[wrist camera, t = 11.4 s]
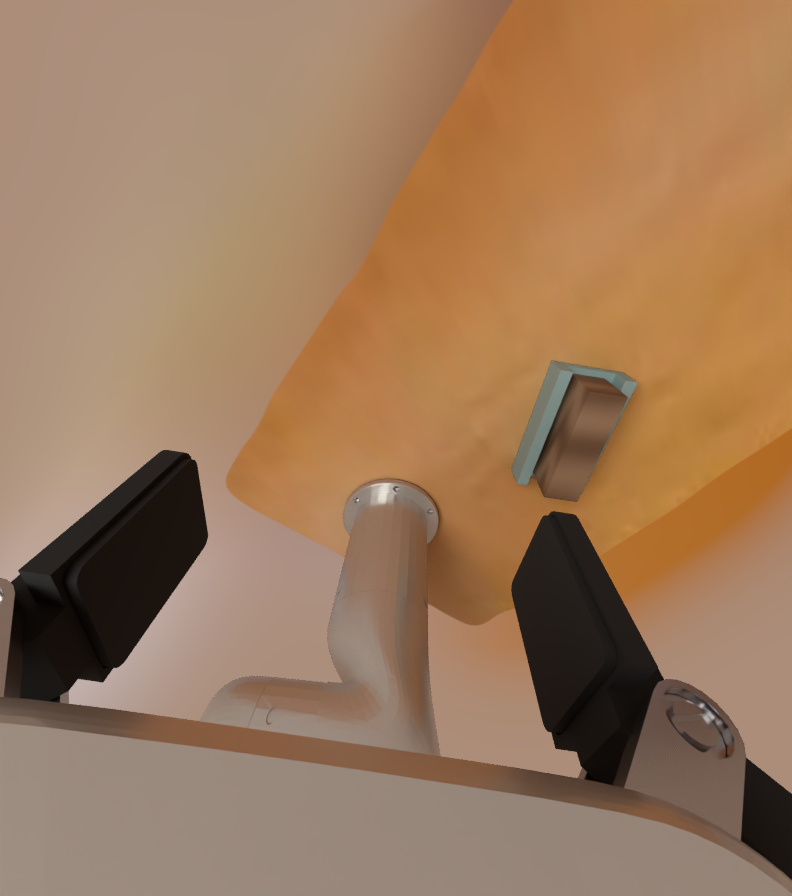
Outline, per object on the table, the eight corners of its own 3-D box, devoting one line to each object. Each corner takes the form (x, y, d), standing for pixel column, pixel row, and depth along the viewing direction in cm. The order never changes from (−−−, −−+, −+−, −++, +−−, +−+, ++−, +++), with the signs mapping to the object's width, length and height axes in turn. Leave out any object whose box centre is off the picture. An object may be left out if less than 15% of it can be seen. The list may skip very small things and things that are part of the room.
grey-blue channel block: (572, 478, 45) (581, 493, 42) (511, 468, 44) (516, 483, 42) (623, 372, 38) (637, 382, 35) (551, 360, 38) (560, 370, 35)
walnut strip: (561, 475, 43) (576, 501, 39) (532, 470, 43) (544, 497, 39) (604, 378, 37) (628, 397, 33) (570, 373, 37) (589, 391, 33)
